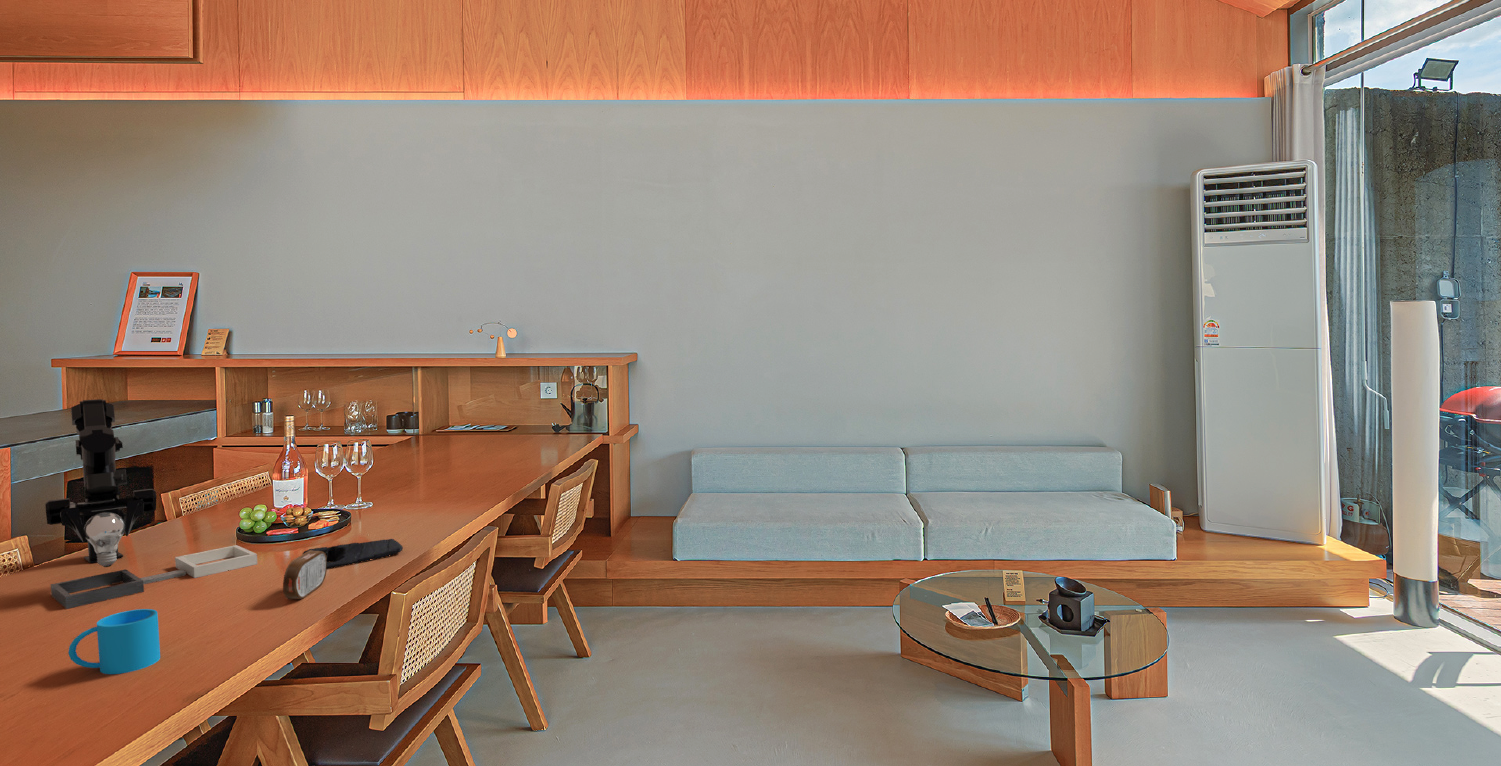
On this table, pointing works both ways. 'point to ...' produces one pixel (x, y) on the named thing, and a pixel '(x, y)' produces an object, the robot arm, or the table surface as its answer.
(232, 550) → the collar
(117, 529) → the light bulb
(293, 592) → the tin
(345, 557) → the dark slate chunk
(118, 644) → the mug
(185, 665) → the table surface
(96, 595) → the collar
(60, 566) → the table surface
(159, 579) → the rail strip
